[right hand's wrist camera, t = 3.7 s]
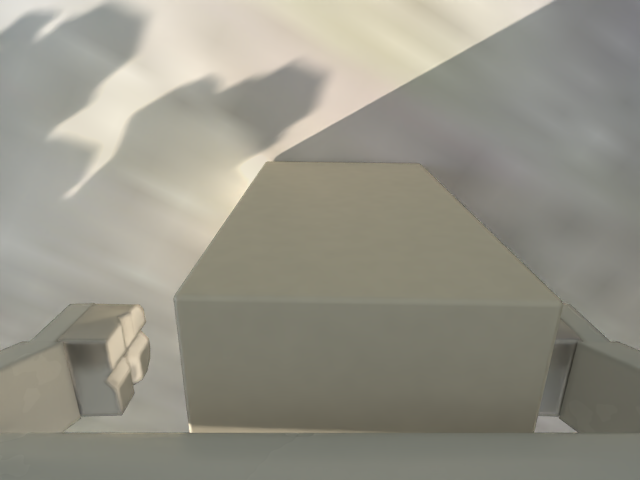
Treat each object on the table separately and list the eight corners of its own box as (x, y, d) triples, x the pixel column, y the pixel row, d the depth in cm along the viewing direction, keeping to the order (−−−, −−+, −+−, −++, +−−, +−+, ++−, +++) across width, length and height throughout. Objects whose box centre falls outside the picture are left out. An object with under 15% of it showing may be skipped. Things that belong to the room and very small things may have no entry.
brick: (270, 306, 17) (205, 575, 8) (265, 160, 15) (170, 296, 6) (407, 308, 17) (501, 581, 8) (420, 163, 15) (567, 301, 6)
